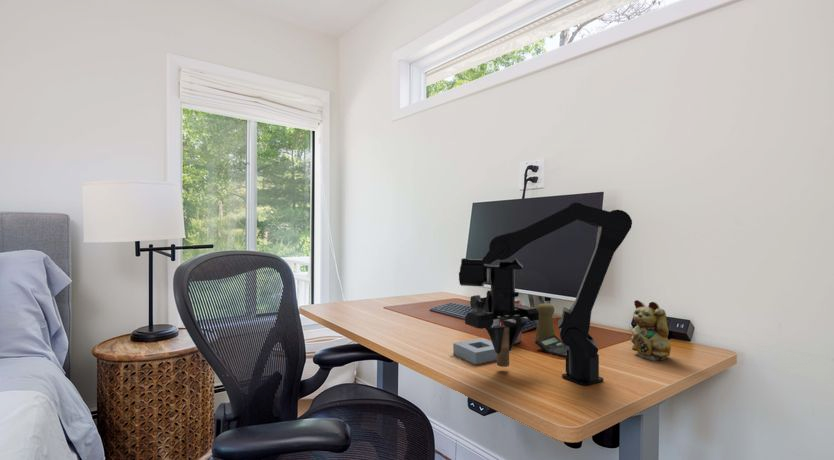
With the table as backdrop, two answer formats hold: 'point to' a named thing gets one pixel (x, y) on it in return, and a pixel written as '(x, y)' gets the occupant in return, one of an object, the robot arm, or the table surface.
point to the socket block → (475, 350)
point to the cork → (545, 321)
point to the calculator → (553, 346)
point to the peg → (504, 349)
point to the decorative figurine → (650, 332)
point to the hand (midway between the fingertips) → (502, 352)
